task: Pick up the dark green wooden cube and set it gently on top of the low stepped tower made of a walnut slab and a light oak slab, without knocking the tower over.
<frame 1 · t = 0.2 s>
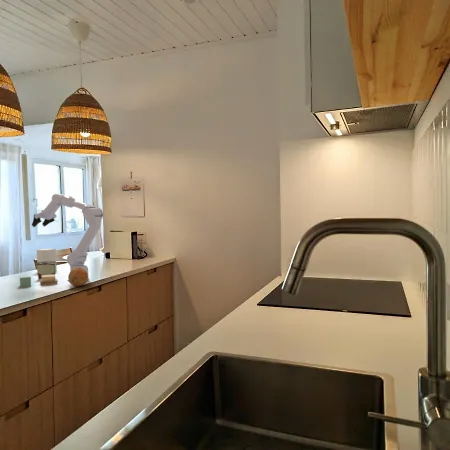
hand: (38, 225, 233), 31 cm above the countertop, tool tilted 45°, fingers open, 7 cm apart
oak slab: (48, 280, 215), point 2 cm above the countertop, touching walnut slab
walnut slab: (48, 284, 215), on the countertop, touching oak slab
onion: (78, 286, 205), on the countertop
green cube: (25, 286, 209), on the countertop
food container: (48, 278, 232), on the countertop
supplement box: (47, 271, 261), on the countertop
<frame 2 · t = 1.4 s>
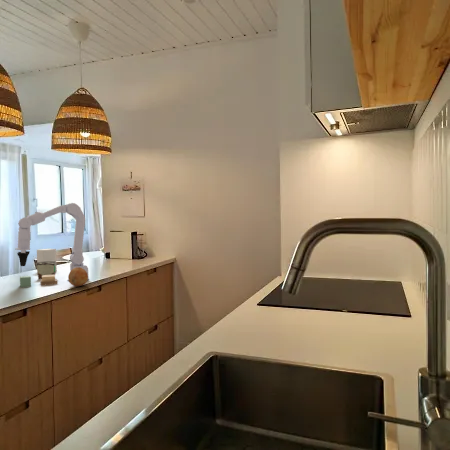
hand: (23, 265, 210), 11 cm above the countertop, tool pointing down, fingers open, 7 cm apart
nothing on the countertop moved.
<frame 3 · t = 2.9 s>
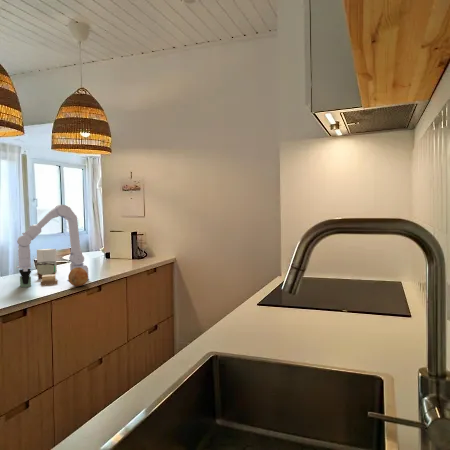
hand: (25, 283, 209), 1 cm above the countertop, tool pointing down, fingers closed on green cube, 5 cm apart
oak slab: (48, 279, 215), point 2 cm above the countertop
walnut slab: (49, 284, 215), on the countertop
green cube: (25, 285, 209), on the countertop, touching gripper
everything else where it was.
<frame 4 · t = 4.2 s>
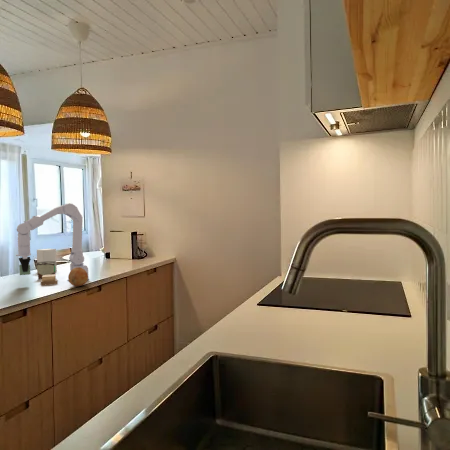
hand: (25, 271, 209), 8 cm above the countertop, tool pointing down, fingers closed on green cube, 5 cm apart
oak slab: (49, 280, 215), point 2 cm above the countertop, touching walnut slab
walnut slab: (49, 284, 215), on the countertop, touching oak slab
green cube: (25, 274, 209), point 6 cm above the countertop, touching gripper
everything else where it was.
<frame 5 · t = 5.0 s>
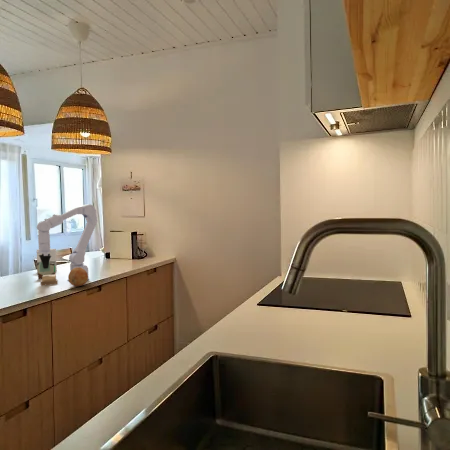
hand: (45, 267, 214), 9 cm above the countertop, tool pointing down, fingers closed on green cube, 5 cm apart
green cube: (44, 271, 214), point 7 cm above the countertop, touching gripper
everything else where it was.
when the fingers open (8 cm above the countertop, at t = 6.0 s): green cube drops 2 cm, resting on oak slab.
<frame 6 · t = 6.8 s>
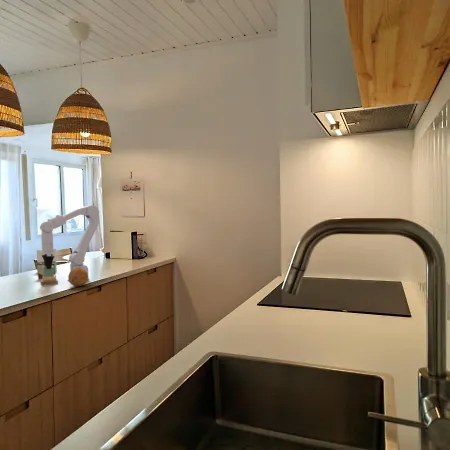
hand: (48, 268, 215), 8 cm above the countertop, tool pointing down, fingers open, 7 cm apart
oak slab: (49, 280, 215), point 2 cm above the countertop, touching green cube, walnut slab
green cube: (48, 275, 215), point 4 cm above the countertop, touching oak slab
everything else where it was.
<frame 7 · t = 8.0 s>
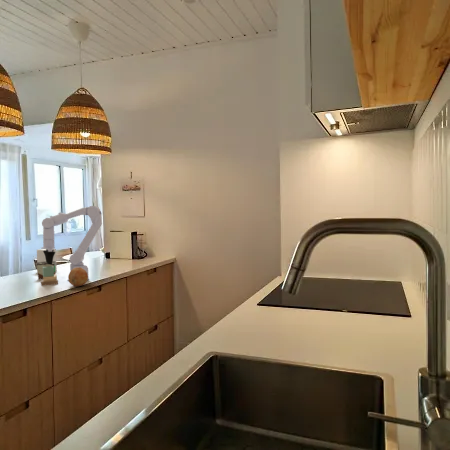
hand: (49, 263, 221), 10 cm above the countertop, tool pointing down, fingers open, 7 cm apart
oak slab: (50, 280, 215), point 2 cm above the countertop, touching walnut slab
green cube: (48, 275, 214), point 4 cm above the countertop
everything else where it was.
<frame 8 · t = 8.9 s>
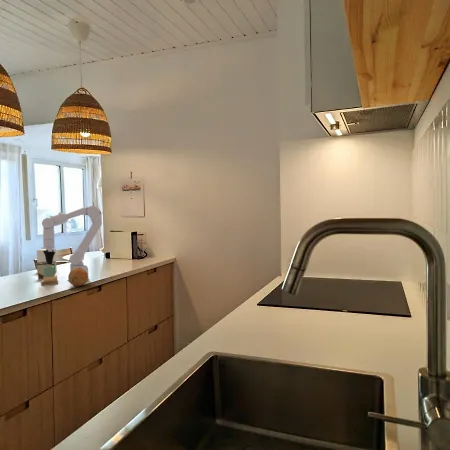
hand: (49, 263, 221), 10 cm above the countertop, tool pointing down, fingers open, 7 cm apart
oak slab: (50, 280, 215), point 2 cm above the countertop, touching green cube, walnut slab
green cube: (49, 276, 215), point 4 cm above the countertop, touching oak slab
everything else where it was.
at the end: green cube 0.5 cm from the target spot, point 4.2 cm above the countertop; oak slab 0.9 cm from the target spot, point 1.6 cm above the countertop; green cube tilted 0° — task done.
